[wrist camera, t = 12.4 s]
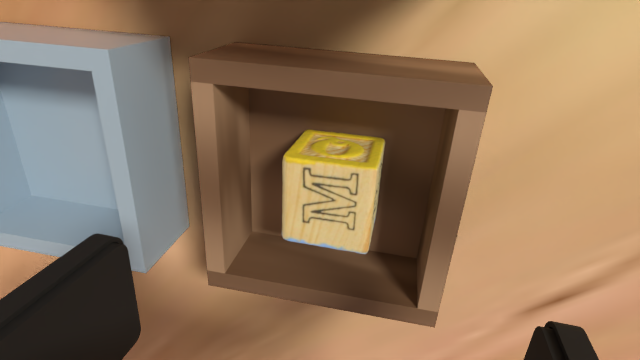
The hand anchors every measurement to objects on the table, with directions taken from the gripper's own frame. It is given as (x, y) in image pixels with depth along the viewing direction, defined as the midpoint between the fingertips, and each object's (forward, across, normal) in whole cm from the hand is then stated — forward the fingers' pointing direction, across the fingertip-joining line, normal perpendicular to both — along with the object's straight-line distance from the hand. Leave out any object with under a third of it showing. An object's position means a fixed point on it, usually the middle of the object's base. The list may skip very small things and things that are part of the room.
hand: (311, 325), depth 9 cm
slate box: (+7, +12, -1) cm, 14 cm away
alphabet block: (+7, +1, -1) cm, 7 cm away
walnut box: (+8, +1, -1) cm, 8 cm away
